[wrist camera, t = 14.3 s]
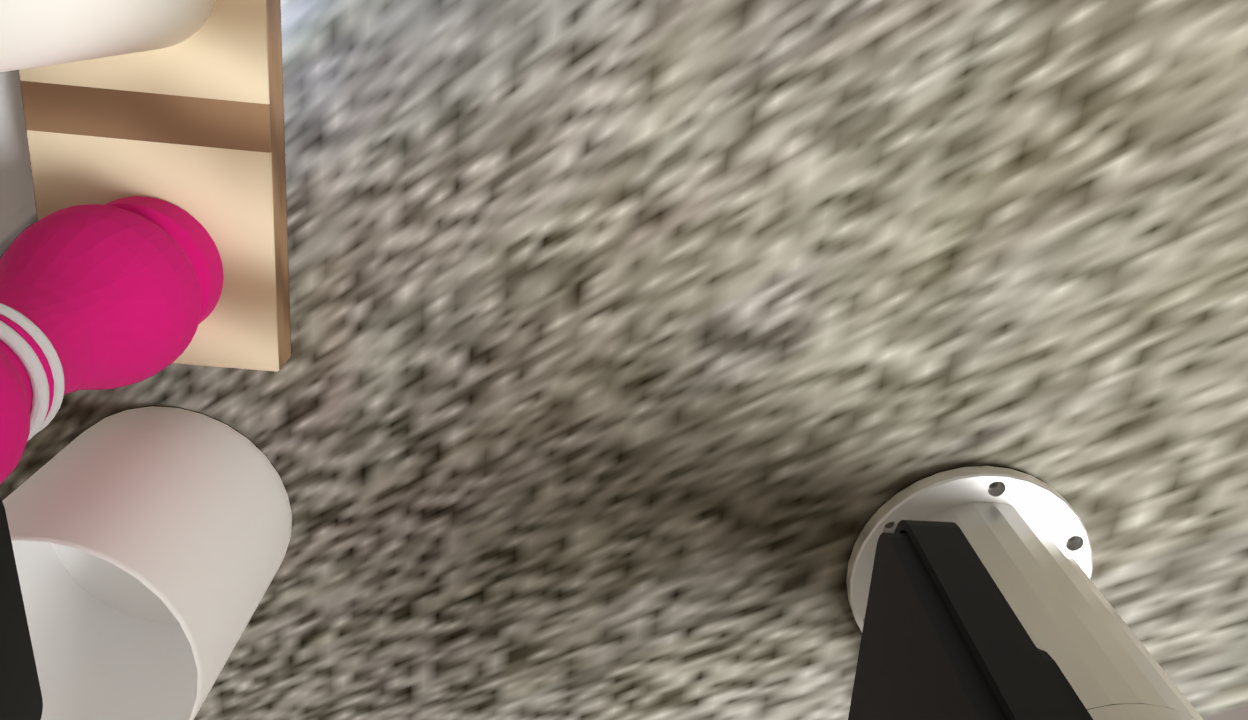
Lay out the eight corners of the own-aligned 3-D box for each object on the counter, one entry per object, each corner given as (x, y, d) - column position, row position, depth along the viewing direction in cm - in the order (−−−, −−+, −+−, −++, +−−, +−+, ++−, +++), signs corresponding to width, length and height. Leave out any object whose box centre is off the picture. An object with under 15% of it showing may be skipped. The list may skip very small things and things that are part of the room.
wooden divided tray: (291, 355, 46) (277, 371, 44) (77, 338, 46) (54, 353, 44) (275, -161, 38) (257, -168, 36) (15, -189, 38) (-15, -198, 36)
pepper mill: (251, 216, 42) (-37, 406, 23) (219, 363, 44) (-66, 642, 25) (81, 160, 41) (-364, 309, 22) (57, 313, 43) (-363, 565, 24)
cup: (10, 463, 48) (-172, 608, 37) (205, 366, 46) (78, 488, 35) (151, 636, 52) (26, 816, 41) (336, 553, 50) (259, 717, 39)
